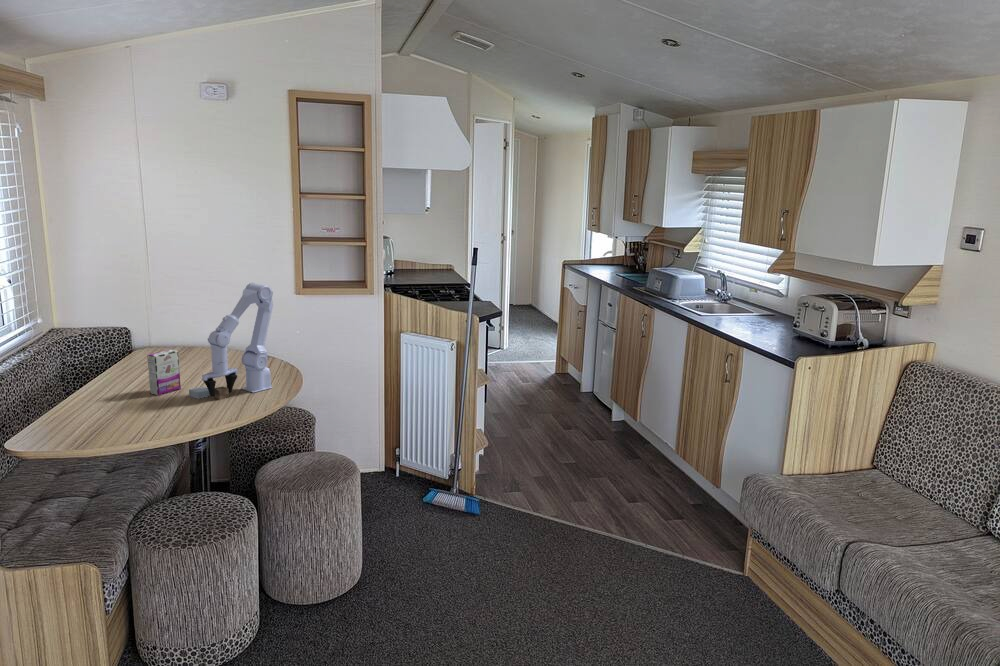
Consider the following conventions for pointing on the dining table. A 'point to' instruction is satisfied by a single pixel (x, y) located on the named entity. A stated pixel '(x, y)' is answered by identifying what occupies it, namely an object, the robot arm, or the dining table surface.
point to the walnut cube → (221, 393)
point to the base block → (199, 392)
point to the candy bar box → (164, 372)
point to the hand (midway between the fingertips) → (221, 394)
